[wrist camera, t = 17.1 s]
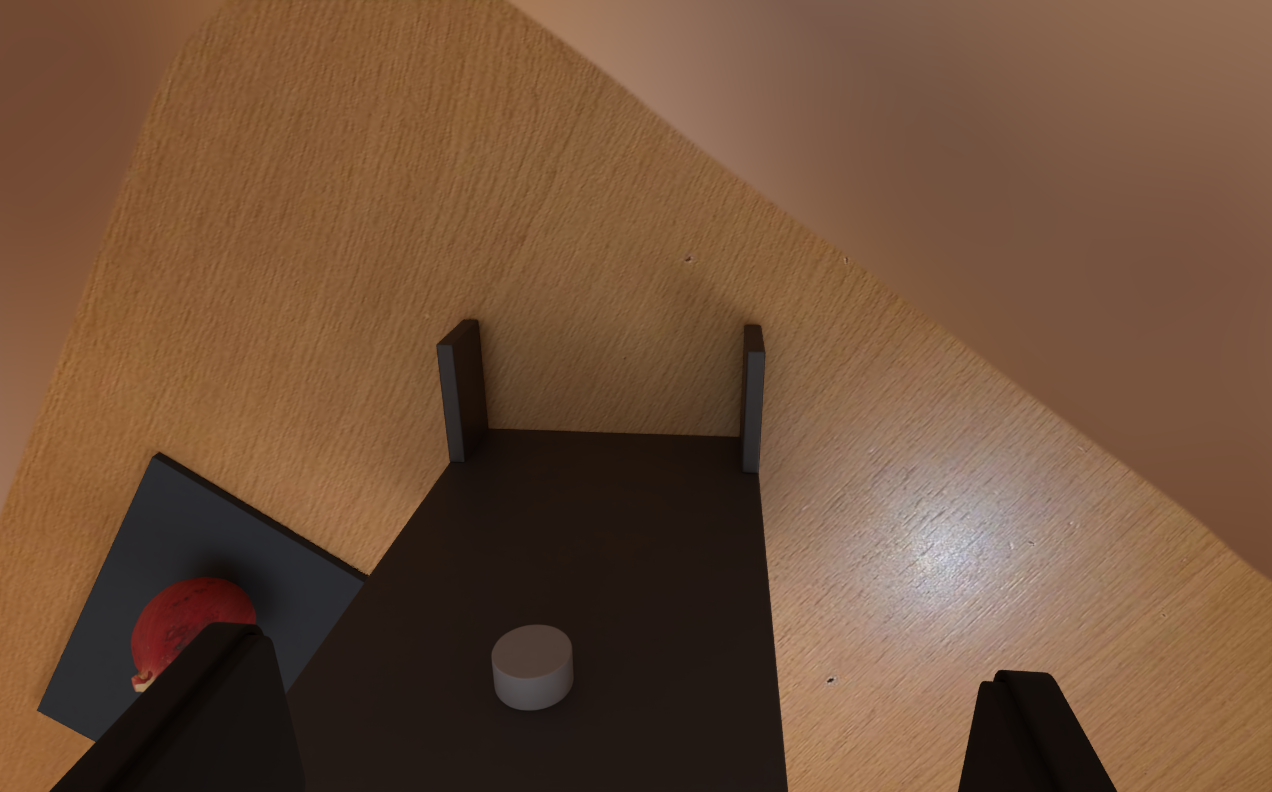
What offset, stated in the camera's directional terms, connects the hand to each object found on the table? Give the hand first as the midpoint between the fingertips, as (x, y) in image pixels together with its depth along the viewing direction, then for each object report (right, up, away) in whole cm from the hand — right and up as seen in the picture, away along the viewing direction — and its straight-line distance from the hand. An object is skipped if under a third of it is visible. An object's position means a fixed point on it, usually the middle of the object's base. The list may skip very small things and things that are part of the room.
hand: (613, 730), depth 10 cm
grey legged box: (-1, +2, +30) cm, 30 cm away
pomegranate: (-24, -7, +36) cm, 44 cm away
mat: (-28, -12, +39) cm, 49 cm away
